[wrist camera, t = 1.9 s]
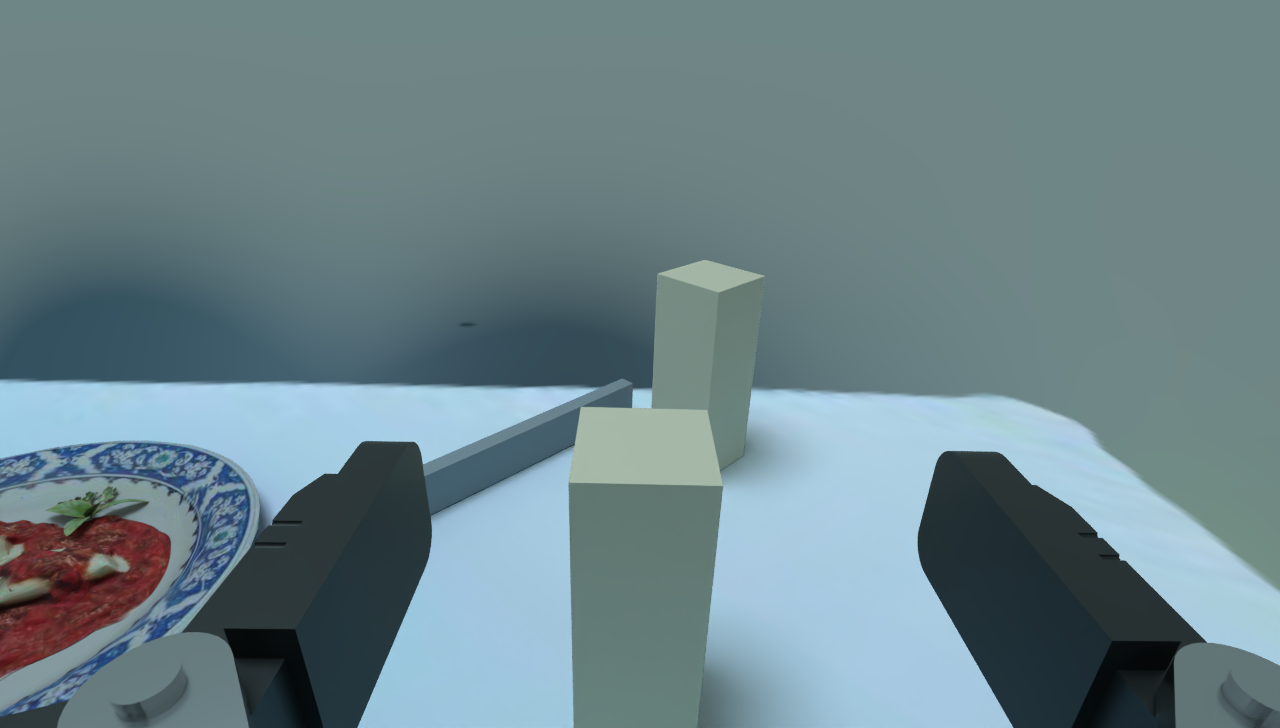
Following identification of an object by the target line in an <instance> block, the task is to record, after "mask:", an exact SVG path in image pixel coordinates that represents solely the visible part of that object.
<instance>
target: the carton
mask: <svg viewBox="0 0 1280 728" xmlns="http://www.w3.org/2000/svg"><path fill="white" fill-rule="evenodd" d="M722 491H723V483H722V478H721V474H720V469H719V464H718V459H717V454H716V450H715V445H714V440H713V435H712V430H711V426H710V421H709V416H708V411H707V410H689V409H647V408H606V407H581V409H580V415H579V422H578V428H577V434H576V440H575V446H574V453H573V459H572V465H571V471H570V477H569V522H570V569H571V616H572V663H573V710H574V728H697V727H698V717H699V708H700V698H701V689H702V680H703V670H704V661H705V651H706V642H707V632H708V623H709V614H710V604H711V595H712V585H713V576H714V567H715V557H716V548H717V538H718V529H719V519H720V510H721V501H722Z"/></svg>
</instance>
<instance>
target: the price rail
mask: <svg viewBox="0 0 1280 728" xmlns="http://www.w3.org/2000/svg"><path fill="white" fill-rule="evenodd" d="M632 392H633V384H632V383H630V382H628V381H626V380H624V379H620V380H618V381H616V382H613V383H611V384H609V385H606V386H604V387H602V388H599V389H597V390H595V391H593V392H590V393H588V394H586V395H583V396H581V397H579V398H576V399H574V400H572V401H569V402H567V403H565V404H562V405H560V406H558V407H555V408H553V409H551V410H548V411H546V412H544V413H542V414H539V415H537V416H535V417H532V418H530V419H528V420H525V421H523V422H521V423H518V424H516V425H514V426H511V427H509V428H507V429H504V430H502V431H500V432H498V433H495V434H493V435H491V436H488V437H486V438H484V439H481V440H479V441H477V442H474V443H472V444H470V445H467V446H465V447H463V448H460V449H458V450H456V451H454V452H451V453H449V454H447V455H444V456H442V457H440V458H437V459H435V460H433V461H430V462H428V463H426V464H423V470H424V477H425V484H426V490H427V497H428V504H429V510H430V515H432V514H434V513H436V512H438V511H440V510H442V509H444V508H446V507H448V506H450V505H452V504H454V503H456V502H458V501H460V500H462V499H464V498H466V497H468V496H470V495H472V494H474V493H477V492H479V491H481V490H483V489H485V488H487V487H489V486H491V485H493V484H495V483H497V482H499V481H501V480H503V479H505V478H507V477H509V476H511V475H513V474H515V473H517V472H519V471H521V470H523V469H525V468H527V467H529V466H531V465H533V464H535V463H537V462H539V461H541V460H543V459H545V458H547V457H549V456H551V455H553V454H555V453H557V452H560V451H562V450H564V449H566V448H568V447H570V446H572V445H574V444H575V440H576V434H577V428H578V422H579V415H580V409H581V407H606V408H632Z"/></svg>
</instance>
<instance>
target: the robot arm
mask: <svg viewBox="0 0 1280 728" xmlns="http://www.w3.org/2000/svg"><path fill="white" fill-rule="evenodd" d="M272 521H273V523H272V526H268V527H267V528H266V529H265V530H264V532H263V533H262V534H261V535H260V536H259V538H258V539H257V540H256V541H255V547H254V548H250V549H249V550H248V551H247V553H246V554H245V555H244V556H243V557H242V559H241V560H240V561H239V562H238V564H237V565H236V566H235V567H234V569H233V570H232V571H231V572H230V574H229V575H228V576H227V577H226V578H225V580H224V581H223V582H222V583H221V585H220V586H219V587H218V588H217V590H216V591H215V592H214V593H213V595H212V596H211V597H210V598H209V599H208V601H207V602H206V603H205V604H204V606H203V607H202V608H201V609H200V611H199V612H198V613H197V614H196V616H195V617H194V618H193V619H192V620H191V622H190V623H189V624H188V625H187V627H186V628H185V629H184V630H183V632H182V633H179V634H173V635H169V636H165V637H161V638H158V639H155V640H153V641H150V642H147V643H145V644H142V645H140V646H138V647H136V648H133V649H131V650H129V651H128V652H126V653H124V654H122V655H120V656H119V657H117V658H115V659H114V660H112V661H111V662H109V663H108V664H106V665H105V666H103V667H102V668H101V669H100V670H98V671H97V672H96V673H95V674H93V675H92V676H91V677H90V678H89V679H88V680H87V681H86V682H85V683H84V684H82V685H81V686H80V688H79V689H78V690H77V691H76V692H75V693H74V695H73V696H72V697H71V698H70V700H68V701H64V702H60V703H56V704H52V705H48V706H44V707H40V708H36V709H32V710H27V711H23V712H19V713H15V714H11V715H7V716H3V717H0V728H357V727H358V725H359V722H360V720H361V718H362V715H363V713H364V711H365V708H366V706H367V703H368V701H369V699H370V696H371V694H372V692H373V689H374V687H375V685H376V682H377V680H378V678H379V675H380V673H381V671H382V668H383V666H384V663H385V661H386V659H387V656H388V654H389V652H390V649H391V647H392V645H393V642H394V640H395V638H396V635H397V633H398V630H399V628H400V626H401V623H402V621H403V619H404V616H405V614H406V612H407V609H408V607H409V605H410V602H411V600H412V598H413V595H414V593H415V590H416V588H417V586H418V583H419V581H420V579H421V576H422V574H423V572H424V569H425V567H426V564H427V561H428V558H429V553H430V548H431V538H432V525H431V517H430V510H429V504H428V497H427V490H426V484H425V477H424V470H423V463H422V457H421V452H420V449H419V447H418V445H417V444H416V443H415V442H382V441H365V442H362V443H361V444H360V445H359V446H358V447H357V449H356V450H355V451H354V453H353V454H352V455H351V457H350V458H349V459H348V461H347V462H346V463H345V465H344V466H343V467H342V469H341V470H340V472H339V473H338V474H324V475H322V476H321V477H319V478H318V479H316V480H315V481H313V482H312V483H310V484H309V485H307V486H306V487H304V488H303V489H301V490H300V491H298V492H297V493H295V494H294V495H293V496H292V497H291V498H290V499H289V501H288V502H287V503H286V504H285V506H284V507H283V508H282V509H281V511H280V512H279V513H278V514H277V515H276V517H275V518H274V519H273V520H272ZM918 553H919V558H920V562H921V566H922V568H923V571H924V573H925V575H926V576H927V578H928V580H929V582H930V583H931V585H932V587H933V589H934V590H935V592H936V594H937V596H938V597H939V599H940V601H941V602H942V604H943V606H944V608H945V609H946V611H947V613H948V615H949V616H950V618H951V620H952V622H953V623H954V625H955V627H956V629H957V630H958V632H959V634H960V636H961V637H962V639H963V641H964V642H965V644H966V646H967V648H968V649H969V651H970V653H971V655H972V656H973V658H974V660H975V662H976V663H977V665H978V667H979V669H980V670H981V672H982V674H983V676H984V677H985V679H986V681H987V682H988V684H989V686H990V688H991V689H992V691H993V693H994V695H995V696H996V698H997V700H998V702H999V703H1000V705H1001V707H1002V709H1003V710H1004V712H1005V714H1006V715H1007V717H1008V719H1009V721H1010V722H1011V724H1012V726H1013V728H1280V666H1279V665H1277V664H1275V663H1273V662H1271V661H1269V660H1267V659H1265V658H1262V657H1260V656H1258V655H1255V654H1253V653H1250V652H1247V651H1244V650H1241V649H1238V648H1234V647H1231V646H1227V645H1222V644H1215V643H1207V642H1206V641H1205V640H1204V639H1203V638H1202V637H1201V636H1200V635H1199V634H1198V633H1197V632H1196V631H1195V630H1194V629H1193V628H1192V627H1191V626H1190V625H1189V624H1188V623H1187V622H1186V621H1185V620H1184V619H1183V618H1182V617H1181V616H1180V615H1179V614H1178V613H1177V612H1176V611H1175V610H1174V609H1173V608H1172V607H1171V606H1170V605H1169V604H1168V603H1167V602H1166V601H1165V600H1164V599H1163V598H1162V597H1161V596H1160V595H1159V594H1158V593H1157V592H1156V591H1155V590H1154V589H1153V588H1152V587H1151V586H1150V585H1149V584H1148V583H1147V582H1146V581H1145V580H1144V579H1143V578H1142V577H1141V576H1140V575H1139V574H1138V573H1137V572H1136V571H1135V570H1134V569H1133V568H1132V567H1131V566H1130V565H1129V564H1128V563H1127V562H1126V561H1121V560H1120V559H1119V554H1118V553H1117V552H1116V551H1115V550H1114V549H1113V548H1112V547H1111V546H1110V545H1109V544H1108V543H1107V542H1106V541H1105V540H1104V539H1103V538H1098V536H1097V532H1096V531H1095V530H1094V529H1093V528H1092V527H1091V526H1090V525H1089V524H1088V523H1087V522H1086V521H1085V520H1084V519H1083V518H1082V517H1081V516H1080V515H1079V514H1078V513H1077V512H1076V511H1075V510H1074V509H1073V508H1072V507H1071V506H1069V505H1067V504H1066V503H1064V502H1063V501H1061V500H1059V499H1058V498H1056V497H1054V496H1053V495H1051V494H1050V493H1048V492H1046V491H1045V490H1043V489H1042V488H1040V487H1038V486H1037V485H1031V484H1030V483H1029V481H1028V480H1027V479H1026V478H1025V477H1024V476H1023V475H1022V474H1021V473H1020V472H1019V471H1018V470H1017V469H1016V468H1015V467H1014V466H1013V465H1012V464H1011V463H1010V462H1009V461H1008V460H1007V458H1006V457H1004V456H1003V455H1002V454H1000V453H998V452H973V451H946V452H944V453H943V454H941V456H940V457H939V458H938V461H937V463H936V466H935V470H934V474H933V478H932V481H931V485H930V489H929V493H928V497H927V501H926V504H925V508H924V512H923V516H922V520H921V524H920V527H919V532H918Z"/></svg>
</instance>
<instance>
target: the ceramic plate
mask: <svg viewBox="0 0 1280 728" xmlns="http://www.w3.org/2000/svg"><path fill="white" fill-rule="evenodd" d="M259 514H260V503H259V496H258V493H257V490H256V488H255V485H254V483H253V481H252V479H251V478H250V476H249V475H248V474H247V473H246V472H245V471H244V470H243V469H242V468H241V467H240V466H238V465H237V464H236V463H234V462H233V461H231V460H230V459H228V458H226V457H224V456H222V455H220V454H217V453H214V452H212V451H209V450H206V449H202V448H199V447H195V446H192V445H185V444H177V443H167V442H156V441H112V442H101V443H90V444H79V445H71V446H64V447H56V448H50V449H45V450H40V451H35V452H30V453H25V454H20V455H16V456H11V457H6V458H1V459H0V717H3V716H7V715H11V714H15V713H19V712H23V711H27V710H32V709H36V708H40V707H44V706H48V705H52V704H56V703H60V702H64V701H68V700H70V698H71V697H72V696H73V695H74V693H75V692H76V691H77V690H78V689H79V688H80V686H81V685H82V684H84V683H85V682H86V681H87V680H88V679H89V678H90V677H91V676H92V675H93V674H95V673H96V672H97V671H98V670H100V669H101V668H102V667H103V666H105V665H106V664H108V663H109V662H111V661H112V660H114V659H115V658H117V657H119V656H120V655H122V654H124V653H126V652H128V651H129V650H131V649H133V648H136V647H138V646H140V645H142V644H145V643H147V642H150V641H153V640H155V639H158V638H161V637H165V636H169V635H173V634H179V633H182V632H183V630H184V629H185V628H186V627H187V625H188V624H189V623H190V622H191V620H192V619H193V618H194V617H195V616H196V614H197V613H198V612H199V611H200V609H201V608H202V607H203V606H204V604H205V603H206V602H207V601H208V599H209V598H210V597H211V596H212V595H213V593H214V592H215V591H216V590H217V588H218V587H219V586H220V585H221V583H222V582H223V581H224V580H225V578H226V577H227V576H228V575H229V574H230V572H231V571H232V570H233V569H234V567H235V566H236V565H237V564H238V562H239V561H240V560H241V559H242V557H243V556H244V555H245V554H246V553H247V551H248V550H249V549H250V548H251V546H252V543H253V540H254V538H255V535H256V533H257V530H258V524H259Z"/></svg>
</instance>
